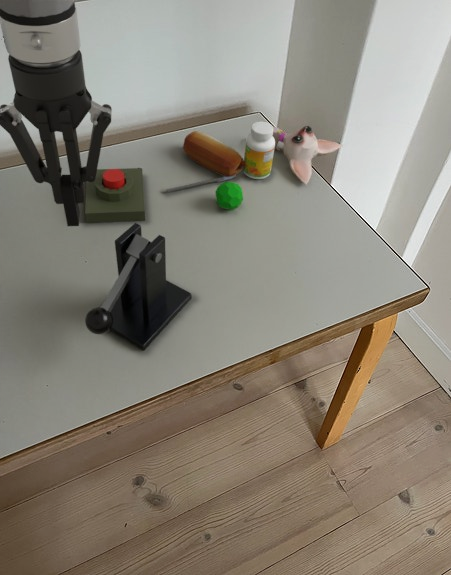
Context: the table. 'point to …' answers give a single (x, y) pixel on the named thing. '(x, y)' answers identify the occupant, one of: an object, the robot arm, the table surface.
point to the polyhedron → (229, 195)
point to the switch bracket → (145, 293)
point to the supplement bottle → (259, 151)
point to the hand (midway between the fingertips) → (73, 219)
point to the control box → (115, 198)
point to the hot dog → (213, 154)
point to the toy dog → (303, 150)
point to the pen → (201, 183)
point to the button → (113, 179)
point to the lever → (115, 290)
